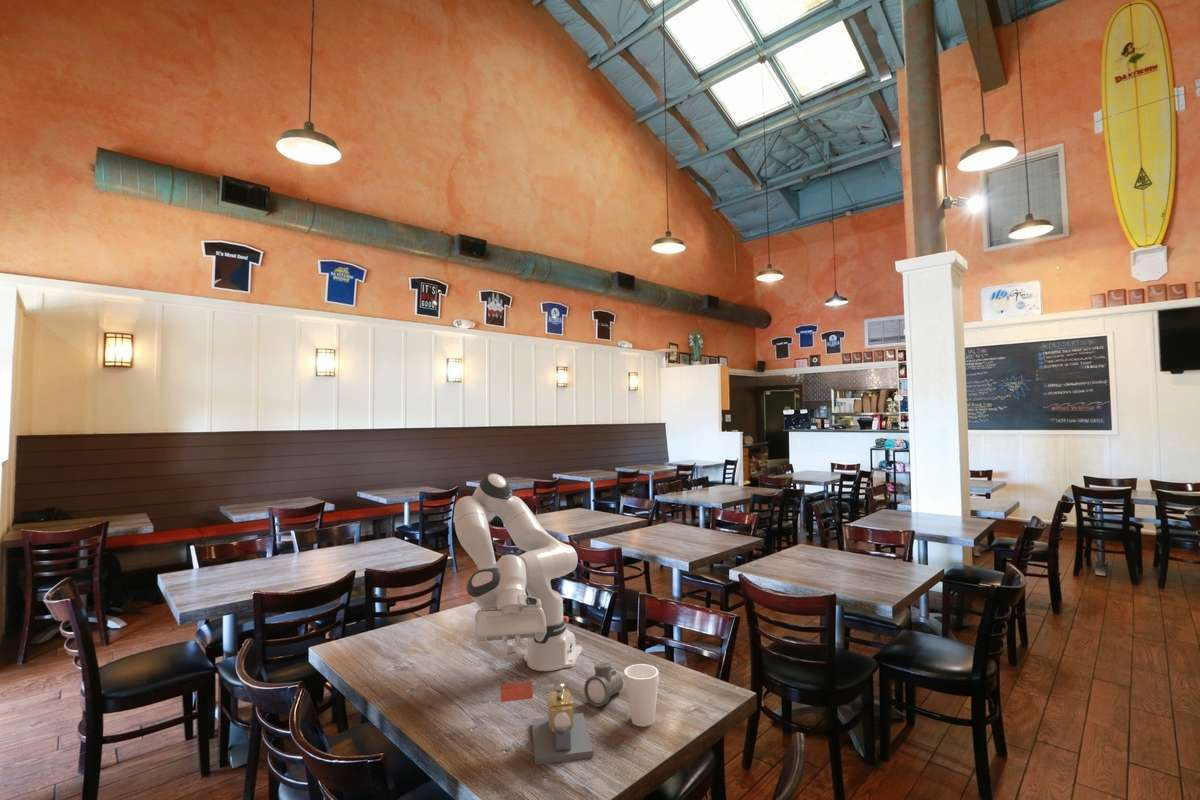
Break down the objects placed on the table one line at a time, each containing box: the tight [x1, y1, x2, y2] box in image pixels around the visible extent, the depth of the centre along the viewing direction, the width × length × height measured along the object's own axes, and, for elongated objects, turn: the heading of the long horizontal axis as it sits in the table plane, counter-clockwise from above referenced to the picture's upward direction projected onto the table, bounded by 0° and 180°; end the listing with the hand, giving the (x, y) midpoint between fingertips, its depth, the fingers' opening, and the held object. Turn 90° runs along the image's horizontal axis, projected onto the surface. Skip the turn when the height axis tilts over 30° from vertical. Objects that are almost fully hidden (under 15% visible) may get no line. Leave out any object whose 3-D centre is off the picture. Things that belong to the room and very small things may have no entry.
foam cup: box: [623, 663, 660, 728], centre depth 148 cm, size 10×9×13 cm
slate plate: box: [531, 712, 594, 766], centre depth 139 cm, size 14×18×2 cm
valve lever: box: [500, 680, 566, 703], centre depth 139 cm, size 16×3×3 cm, turn 99°
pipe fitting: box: [583, 662, 624, 708], centre depth 160 cm, size 12×8×10 cm
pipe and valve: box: [546, 689, 574, 752], centre depth 139 cm, size 6×16×11 cm, turn 9°
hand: (510, 653), depth 150 cm, fingers closed
